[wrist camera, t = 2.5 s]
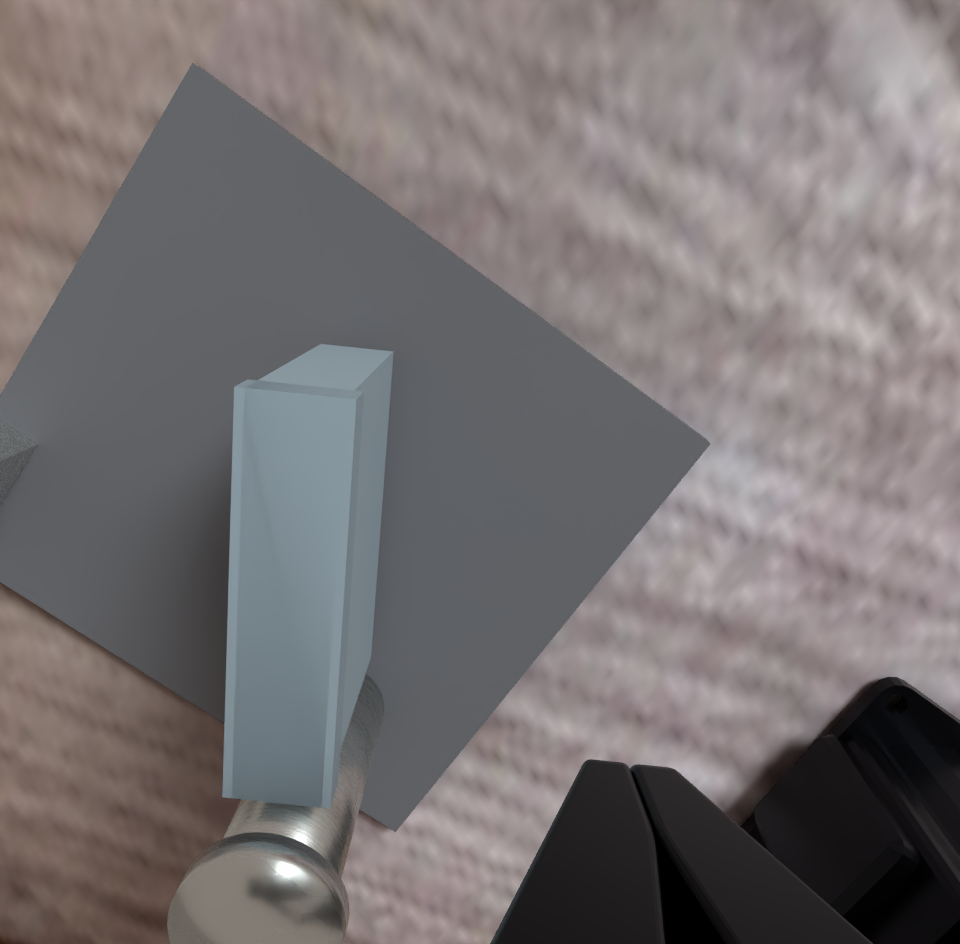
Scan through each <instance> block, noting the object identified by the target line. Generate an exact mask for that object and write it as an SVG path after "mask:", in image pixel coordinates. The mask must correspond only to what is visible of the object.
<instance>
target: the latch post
mask: <svg viewBox="0 0 960 944" xmlns="http://www.w3.org/2000/svg"><path fill="white" fill-rule="evenodd" d="M37 446H38V443H36V442H35V441H33V440H32V439H30V438H29V437H27V436H26V435H24V434H23V433H21V432H20V431H18V430H17V429H15V428H13V427H12V426H10V425H9V424H7V423H6V422H4V421H3V420H1V419H0V508H1V506H2V505H3V503H4V501H5V500H6V498H7V496H8V495H9V493H10V491H11V490H12V488H13V486H14V485H15V483H16V481H17V480H18V478H19V476H20V474H21V473H22V471H23V469H24V468H25V466H26V464H27V463H28V461H29V459H30V458H31V456H32V454H33V453H34V451H35V449H36V448H37Z"/></svg>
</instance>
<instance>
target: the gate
mask: <svg viewBox="0 0 960 944" xmlns="http://www.w3.org/2000/svg"><path fill="white" fill-rule="evenodd" d="M393 352H394V351H384V350H375V349H365V348H355V347H345V346H336V345H326V344H320V345H318V346H316V347H315V348H313V349H311V350H309V351H308V352H306V353H304V354H303V355H301V356H299V357H297V358H296V359H294V360H292V361H290V362H289V363H287V364H285V365H283V366H282V367H280V368H278V369H276V370H275V371H273V372H271V373H269V374H268V375H266V376H264V377H262V378H261V379H259V380H246V381H244V382H242V383H240V384H238V385H237V386H235V387H234V409H233V444H232V479H231V514H230V549H229V584H228V619H227V654H226V689H225V724H224V759H223V794H222V797H224V798H234V799H243V800H252V801H262V802H271V803H281V804H290V805H299V806H309V807H318V808H328V809H330V808H331V805H332V802H333V799H334V795H335V792H336V789H337V786H338V778H339V763H340V750H341V747H342V744H343V741H344V738H345V735H346V732H347V729H348V726H349V723H350V720H351V716H352V713H353V710H354V707H355V704H356V701H357V698H358V695H359V692H360V689H361V686H362V683H363V680H364V677H365V674H366V671H367V668H368V665H369V662H370V659H371V651H372V637H373V623H374V610H375V596H376V583H377V569H378V556H379V542H380V528H381V515H382V501H383V488H384V474H385V461H386V447H387V434H388V420H389V406H390V393H391V379H392V366H393Z"/></svg>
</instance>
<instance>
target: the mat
mask: <svg viewBox="0 0 960 944" xmlns="http://www.w3.org/2000/svg"><path fill="white" fill-rule="evenodd" d="M320 344H326V345H336V346H345V347H355V348H365V349H375V350H384V351H394V352H393V366H392V379H391V393H390V406H389V420H388V434H387V447H386V461H385V474H384V488H383V501H382V515H381V528H380V542H379V556H378V569H377V583H376V596H375V610H374V623H373V637H372V651H371V659H370V662H369V665H368V668H367V671H366V674H367V675H368V676H369V677H370V678H371V679H372V680H373V681H374V682H375V683H376V684H377V686H378V687H379V689H380V691H381V693H382V696H383V700H384V717H383V721H382V725H381V729H380V732H379V736H378V740H377V744H376V748H375V751H374V755H373V759H372V763H371V767H370V770H369V774H368V778H367V782H366V786H365V789H364V793H363V797H362V801H361V805H360V808H359V809H360V810H361V811H363V812H364V813H366V814H367V815H369V816H371V817H372V818H374V819H375V820H377V821H379V822H380V823H382V824H383V825H385V826H386V827H388V828H390V829H391V830H393V831H394V832H396V831H397V830H398V828H399V827H400V826H401V825H402V823H403V822H404V821H405V820H406V818H407V817H408V816H409V815H410V814H411V812H412V811H413V810H414V809H415V807H416V806H417V805H418V804H419V802H420V801H421V800H422V799H423V797H424V796H425V795H426V794H427V793H428V791H429V790H430V789H431V788H432V786H433V785H434V784H435V783H436V781H437V780H438V779H439V778H440V777H441V775H442V774H443V773H444V772H445V770H446V769H447V768H448V767H449V765H450V764H451V763H452V762H453V761H454V759H455V758H456V757H457V756H458V754H459V753H460V752H461V751H462V749H463V748H464V747H465V746H466V744H467V743H468V742H469V741H470V740H471V738H472V737H473V736H474V735H475V733H476V732H477V731H478V730H479V728H480V727H481V726H482V725H483V724H484V722H485V721H486V720H487V719H488V717H489V716H490V715H491V714H492V712H493V711H494V710H495V709H496V708H497V706H498V705H499V704H500V703H501V701H502V700H503V699H504V698H505V696H506V695H507V694H508V693H509V691H510V690H511V689H512V688H513V687H514V685H515V684H516V683H517V682H518V680H519V679H520V678H521V677H522V675H523V674H524V673H525V672H526V671H527V669H528V668H529V667H530V666H531V664H532V663H533V662H534V661H535V659H536V658H537V657H538V656H539V655H540V653H541V652H542V651H543V650H544V648H545V647H546V646H547V645H548V643H549V642H550V641H551V640H552V638H553V637H554V636H555V635H556V634H557V632H558V631H559V630H560V629H561V627H562V626H563V625H564V624H565V622H566V621H567V620H568V619H569V618H570V616H571V615H572V614H573V613H574V611H575V610H576V609H577V608H578V606H579V605H580V604H581V603H582V602H583V600H584V599H585V598H586V597H587V595H588V594H589V593H590V592H591V590H592V589H593V588H594V587H595V585H596V584H597V583H598V582H599V581H600V579H601V578H602V577H603V576H604V574H605V573H606V572H607V571H608V569H609V568H610V567H611V566H612V565H613V563H614V562H615V561H616V560H617V558H618V557H619V556H620V555H621V553H622V552H623V551H624V550H625V549H626V547H627V546H628V545H629V544H630V542H631V541H632V540H633V539H634V537H635V536H636V535H637V534H638V532H639V531H640V530H641V529H642V528H643V526H644V525H645V524H646V523H647V521H648V520H649V519H650V518H651V516H652V515H653V514H654V513H655V512H656V510H657V509H658V508H659V507H660V505H661V504H662V503H663V502H664V500H665V499H666V498H667V497H668V496H669V494H670V493H671V492H672V491H673V489H674V488H675V487H676V486H677V484H678V483H679V482H680V481H681V479H682V478H683V477H684V476H685V475H686V473H687V472H688V471H689V470H690V468H691V467H692V466H693V465H694V463H695V462H696V461H697V460H698V459H699V457H700V456H701V455H702V454H703V452H704V451H705V450H706V449H707V447H708V446H709V445H710V443H709V442H708V441H707V440H706V439H705V438H704V437H703V436H701V435H700V434H699V433H697V432H696V431H695V430H693V429H692V428H690V427H689V426H688V425H686V424H685V423H684V422H682V421H681V420H680V419H678V418H677V417H675V416H674V415H673V414H671V413H670V412H669V411H667V410H666V409H665V408H663V407H662V406H661V405H659V404H658V403H656V402H655V401H654V400H652V399H651V398H650V397H648V396H647V395H646V394H644V393H643V392H641V391H640V390H639V389H637V388H636V387H635V386H633V385H632V384H631V383H629V382H628V381H627V380H625V379H624V378H622V377H621V376H620V375H618V374H617V373H616V372H614V371H613V370H612V369H610V368H609V367H607V366H606V365H605V364H603V363H602V362H601V361H599V360H598V359H597V358H595V357H594V356H592V355H591V354H590V353H588V352H587V351H586V350H584V349H583V348H582V347H580V346H579V345H578V344H576V343H575V342H573V341H572V340H571V339H569V338H568V337H567V336H565V335H564V334H563V333H561V332H560V331H558V330H557V329H556V328H554V327H553V326H552V325H550V324H549V323H548V322H546V321H545V320H544V319H542V318H541V317H539V316H538V315H537V314H535V313H534V312H533V311H531V310H530V309H529V308H527V307H526V306H524V305H523V304H522V303H520V302H519V301H518V300H516V299H515V298H514V297H512V296H511V295H509V294H508V293H507V292H505V291H504V290H503V289H501V288H500V287H499V286H497V285H496V284H495V283H493V282H492V281H490V280H489V279H488V278H486V277H485V276H484V275H482V274H481V273H480V272H478V271H477V270H475V269H474V268H473V267H471V266H470V265H469V264H467V263H466V262H465V261H463V260H462V259H461V258H459V257H458V256H456V255H455V254H454V253H452V252H451V251H450V250H448V249H447V248H446V247H444V246H443V245H441V244H440V243H439V242H437V241H436V240H435V239H433V238H432V237H431V236H429V235H428V234H426V233H425V232H424V231H422V230H421V229H420V228H418V227H417V226H416V225H414V224H413V223H412V222H410V221H409V220H407V219H406V218H405V217H403V216H402V215H401V214H399V213H398V212H397V211H395V210H394V209H392V208H391V207H390V206H388V205H387V204H386V203H384V202H383V201H382V200H380V199H379V198H378V197H376V196H375V195H373V194H372V193H371V192H369V191H368V190H367V189H365V188H364V187H363V186H361V185H360V184H358V183H357V182H356V181H354V180H353V179H352V178H350V177H349V176H348V175H346V174H345V173H344V172H342V171H341V170H339V169H338V168H337V167H335V166H334V165H333V164H331V163H330V162H329V161H327V160H326V159H324V158H323V157H322V156H320V155H319V154H318V153H316V152H315V151H314V150H312V149H311V148H309V147H308V146H307V145H305V144H304V143H303V142H301V141H300V140H299V139H297V138H296V137H295V136H293V135H292V134H290V133H289V132H288V131H286V130H285V129H284V128H282V127H281V126H280V125H278V124H277V123H275V122H274V121H273V120H271V119H270V118H269V117H267V116H266V115H265V114H263V113H262V112H261V111H259V110H258V109H256V108H255V107H254V106H252V105H251V104H250V103H248V102H247V101H246V100H244V99H243V98H241V97H240V96H239V95H237V94H236V93H235V92H233V91H232V90H231V89H229V88H228V87H226V86H225V85H224V84H222V83H221V82H220V81H218V80H217V79H216V78H214V77H213V76H212V75H210V74H209V73H207V72H206V71H205V70H203V69H202V68H201V67H199V66H197V65H195V64H193V63H192V65H191V66H190V68H189V70H188V72H187V73H186V75H185V77H184V79H183V80H182V82H181V84H180V85H179V87H178V89H177V91H176V92H175V94H174V96H173V98H172V99H171V101H170V103H169V105H168V106H167V108H166V110H165V111H164V113H163V115H162V117H161V118H160V120H159V122H158V124H157V125H156V127H155V129H154V130H153V132H152V134H151V136H150V137H149V139H148V141H147V143H146V144H145V146H144V148H143V150H142V151H141V153H140V155H139V156H138V158H137V160H136V162H135V163H134V165H133V167H132V169H131V170H130V172H129V174H128V175H127V177H126V179H125V181H124V182H123V184H122V186H121V188H120V189H119V191H118V193H117V195H116V196H115V198H114V200H113V201H112V203H111V205H110V207H109V208H108V210H107V212H106V214H105V215H104V217H103V219H102V220H101V222H100V224H99V226H98V227H97V229H96V231H95V233H94V234H93V236H92V238H91V240H90V241H89V243H88V245H87V246H86V248H85V250H84V252H83V253H82V255H81V257H80V259H79V260H78V262H77V264H76V265H75V267H74V269H73V271H72V272H71V274H70V276H69V278H68V279H67V281H66V283H65V284H64V286H63V288H62V290H61V291H60V293H59V295H58V297H57V298H56V300H55V302H54V304H53V305H52V307H51V309H50V310H49V312H48V314H47V316H46V317H45V319H44V321H43V323H42V324H41V326H40V328H39V329H38V331H37V333H36V335H35V336H34V338H33V340H32V342H31V343H30V345H29V347H28V349H27V350H26V352H25V354H24V355H23V357H22V359H21V361H20V362H19V364H18V366H17V368H16V369H15V371H14V373H13V374H12V376H11V378H10V380H9V381H8V383H7V385H6V387H5V388H4V390H3V392H2V394H1V395H0V419H1V420H3V421H4V422H6V423H7V424H9V425H10V426H12V427H13V428H15V429H17V430H18V431H20V432H21V433H23V434H24V435H26V436H27V437H29V438H30V439H32V440H33V441H35V442H36V443H38V446H37V448H36V449H35V451H34V453H33V454H32V456H31V458H30V459H29V461H28V463H27V464H26V466H25V468H24V469H23V471H22V473H21V474H20V476H19V478H18V480H17V481H16V483H15V485H14V486H13V488H12V490H11V491H10V493H9V495H8V496H7V498H6V500H5V501H4V503H3V505H2V506H1V508H0V582H1V583H2V584H4V585H6V586H7V587H9V588H10V589H12V590H13V591H15V592H17V593H18V594H20V595H21V596H23V597H24V598H26V599H28V600H29V601H31V602H32V603H34V604H36V605H37V606H39V607H40V608H42V609H43V610H45V611H47V612H48V613H50V614H51V615H53V616H55V617H56V618H58V619H59V620H61V621H62V622H64V623H66V624H67V625H69V626H70V627H72V628H73V629H75V630H77V631H78V632H80V633H81V634H83V635H85V636H86V637H88V638H89V639H91V640H92V641H94V642H96V643H97V644H99V645H100V646H102V647H104V648H105V649H107V650H108V651H110V652H111V653H113V654H115V655H116V656H118V657H119V658H121V659H122V660H124V661H126V662H127V663H129V664H130V665H132V666H134V667H135V668H137V669H138V670H140V671H141V672H143V673H145V674H146V675H148V676H149V677H151V678H153V679H154V680H156V681H157V682H159V683H160V684H162V685H164V686H165V687H167V688H168V689H170V690H171V691H173V692H175V693H176V694H178V695H179V696H181V697H183V698H184V699H186V700H187V701H189V702H190V703H192V704H194V705H195V706H197V707H198V708H200V709H202V710H203V711H205V712H206V713H208V714H209V715H211V716H213V717H214V718H216V719H217V720H219V721H220V722H222V723H224V724H225V689H226V654H227V619H228V584H229V549H230V514H231V479H232V444H233V409H234V387H235V386H237V385H238V384H240V383H242V382H244V381H246V380H259V379H261V378H262V377H264V376H266V375H268V374H269V373H271V372H273V371H275V370H276V369H278V368H280V367H282V366H283V365H285V364H287V363H289V362H290V361H292V360H294V359H296V358H297V357H299V356H301V355H303V354H304V353H306V352H308V351H309V350H311V349H313V348H315V347H316V346H318V345H320Z"/></svg>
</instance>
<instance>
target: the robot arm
mask: <svg viewBox="0 0 960 944" xmlns="http://www.w3.org/2000/svg"><path fill="white" fill-rule="evenodd" d="M893 695H901V698H900V700H899V702H898V703H896V704H895V705H893V706H885V703H886V702H887V700H888V699H889V698H890V697H892V696H893ZM490 944H960V720H959V719H957V718H956V717H954V716H953V715H952V714H950V713H949V712H947V711H946V710H945V709H943V708H942V707H940V706H939V705H938V704H936V703H935V702H933V701H932V700H931V699H929V698H928V697H926V696H925V695H924V694H922V693H921V692H920V691H918V690H917V689H915V688H914V687H913V686H911V685H910V684H908V683H907V682H906V681H904V680H902V679H900V678H897V677H887V678H883V679H880V680H879V681H877V682H876V683H875V684H873V685H872V687H871V688H870V689H869V690H868V691H867V692H866V693H865V694H864V695H863V696H862V697H861V698H860V699H859V700H858V702H857V703H856V704H855V705H854V706H853V707H852V708H851V709H850V710H849V711H848V712H847V713H846V714H845V715H844V717H843V718H842V719H841V720H840V721H839V722H838V723H837V724H836V725H835V726H834V727H833V728H832V729H831V730H830V732H829V733H828V734H827V735H826V736H823V737H820V738H819V739H818V740H817V741H816V742H815V743H814V744H813V745H812V746H811V747H810V749H809V750H808V751H807V752H806V753H805V754H804V755H803V756H802V757H801V758H800V759H799V760H798V761H797V763H796V764H795V765H794V766H793V767H792V768H791V769H790V770H789V771H788V772H787V773H786V774H785V775H784V776H783V778H782V779H781V780H780V781H779V782H778V783H777V784H776V785H775V786H774V787H773V788H772V789H771V790H770V791H769V793H768V794H767V795H766V796H765V797H764V798H763V799H762V800H761V801H760V802H759V803H758V804H757V805H756V807H755V809H754V813H753V814H752V815H751V816H750V817H749V818H748V819H747V820H746V821H745V823H744V824H743V825H742V826H741V827H740V826H739V825H738V824H737V823H735V822H734V821H733V820H732V819H731V818H730V817H729V816H728V815H726V814H725V813H724V812H723V811H722V810H721V809H720V808H718V807H717V806H716V805H715V804H714V803H713V802H712V801H711V800H709V799H708V798H707V797H706V796H705V795H704V794H703V793H701V792H700V791H699V790H698V789H697V788H696V787H695V786H694V785H692V784H691V783H690V782H689V781H688V780H687V779H686V778H684V777H683V776H682V775H681V774H680V773H679V772H677V771H676V770H675V769H672V768H669V767H659V766H649V765H634V766H632V767H631V769H630V768H629V767H628V766H627V765H626V764H624V763H620V762H610V761H601V760H587V761H585V762H584V764H583V765H582V767H581V769H580V771H579V773H578V775H577V777H576V779H575V781H574V782H573V784H572V786H571V788H570V790H569V792H568V794H567V796H566V798H565V800H564V802H563V804H562V806H561V808H560V810H559V812H558V814H557V815H556V817H555V819H554V821H553V823H552V825H551V827H550V829H549V831H548V833H547V835H546V837H545V839H544V841H543V843H542V845H541V846H540V848H539V850H538V852H537V854H536V856H535V858H534V860H533V862H532V864H531V866H530V868H529V870H528V872H527V874H526V876H525V878H524V879H523V881H522V883H521V885H520V887H519V889H518V891H517V893H516V895H515V897H514V899H513V901H512V903H511V905H510V907H509V909H508V911H507V912H506V914H505V916H504V918H503V920H502V922H501V924H500V926H499V928H498V930H497V932H496V934H495V936H494V938H493V940H492V942H491V943H490Z"/></svg>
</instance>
